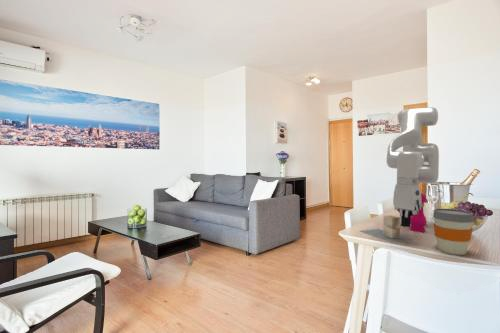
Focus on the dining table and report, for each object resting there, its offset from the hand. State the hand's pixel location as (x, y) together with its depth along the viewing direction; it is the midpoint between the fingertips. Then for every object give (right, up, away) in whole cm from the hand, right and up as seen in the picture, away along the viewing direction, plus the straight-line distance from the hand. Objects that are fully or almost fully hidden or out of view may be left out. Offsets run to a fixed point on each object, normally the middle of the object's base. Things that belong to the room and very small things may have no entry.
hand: (405, 226), depth 117 cm
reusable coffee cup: (+13, -8, -9) cm, 17 cm away
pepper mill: (+16, -7, +19) cm, 26 cm away
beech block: (-3, -6, +7) cm, 9 cm away
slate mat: (-4, -7, +10) cm, 12 cm away
